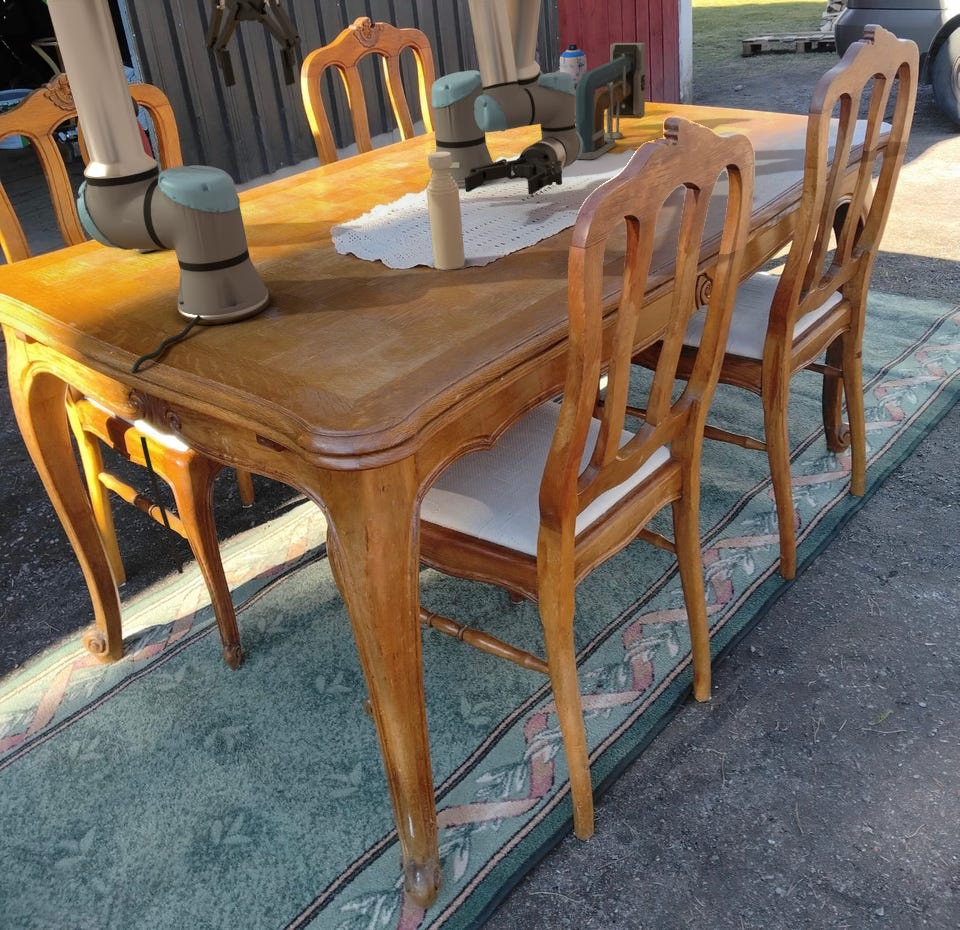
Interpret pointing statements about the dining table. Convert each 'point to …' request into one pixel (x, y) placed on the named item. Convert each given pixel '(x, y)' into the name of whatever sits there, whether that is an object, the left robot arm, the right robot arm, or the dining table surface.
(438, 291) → the dining table surface
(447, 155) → the cap
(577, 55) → the aerosol can
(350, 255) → the dining table surface
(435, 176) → the bottle
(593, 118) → the clamp
